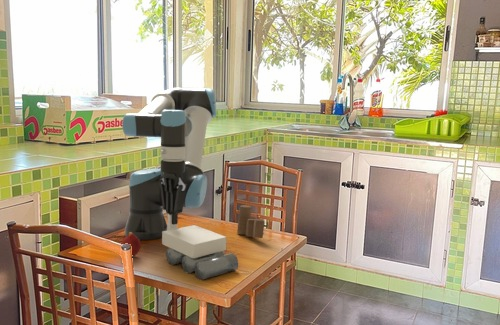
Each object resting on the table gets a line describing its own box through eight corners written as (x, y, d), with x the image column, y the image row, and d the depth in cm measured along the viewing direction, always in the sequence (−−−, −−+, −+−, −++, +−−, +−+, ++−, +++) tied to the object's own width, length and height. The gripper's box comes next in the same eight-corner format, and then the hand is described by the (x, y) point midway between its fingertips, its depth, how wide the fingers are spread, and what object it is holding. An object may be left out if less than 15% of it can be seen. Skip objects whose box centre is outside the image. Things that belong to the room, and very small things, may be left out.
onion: (133, 252, 153) (133, 228, 152) (144, 257, 150) (144, 232, 149) (117, 257, 149) (117, 232, 148) (129, 261, 145) (129, 236, 144)
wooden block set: (267, 243, 168) (270, 214, 167) (243, 242, 166) (246, 212, 165) (255, 229, 185) (258, 203, 184) (233, 228, 183) (236, 201, 182)
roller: (205, 281, 132) (195, 278, 135) (238, 271, 140) (227, 268, 143) (204, 263, 131) (194, 260, 135) (238, 254, 139) (227, 251, 143)
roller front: (180, 265, 140) (184, 252, 138) (212, 257, 149) (216, 244, 146) (189, 276, 137) (193, 263, 135) (222, 267, 145) (226, 254, 143)
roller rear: (164, 259, 146) (167, 245, 145) (196, 251, 154) (199, 238, 153) (173, 268, 143) (176, 253, 141) (205, 259, 151) (208, 245, 150)
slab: (162, 244, 147) (162, 231, 146) (194, 237, 155) (194, 224, 154) (193, 258, 135) (193, 244, 135) (226, 249, 143) (226, 236, 143)
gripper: (151, 158, 152) (151, 230, 155) (174, 163, 142) (173, 240, 145) (171, 156, 157) (171, 227, 160) (195, 161, 147) (193, 236, 150)
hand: (172, 233), depth 153 cm, fingers closed
